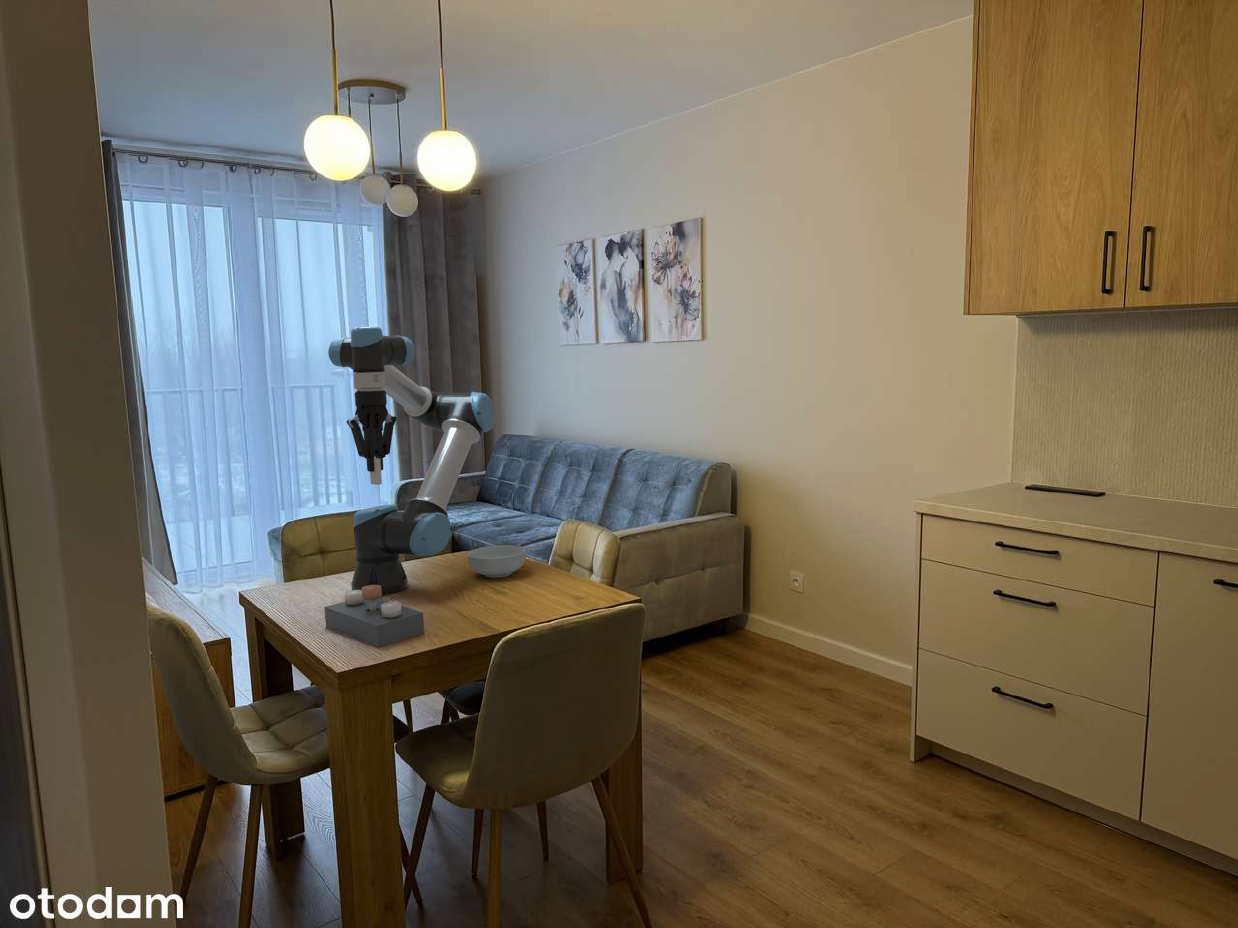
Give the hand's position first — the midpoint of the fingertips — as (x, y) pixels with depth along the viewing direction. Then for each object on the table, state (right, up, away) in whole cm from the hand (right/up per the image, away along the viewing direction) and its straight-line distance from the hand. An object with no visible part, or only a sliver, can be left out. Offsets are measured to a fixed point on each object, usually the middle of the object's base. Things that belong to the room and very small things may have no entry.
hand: (376, 483), depth 206 cm
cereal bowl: (+25, -28, +36) cm, 52 cm away
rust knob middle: (+3, -31, -13) cm, 34 cm away
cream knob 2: (+9, -34, -18) cm, 40 cm away
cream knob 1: (-3, -33, -7) cm, 34 cm away
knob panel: (+3, -34, -13) cm, 37 cm away
